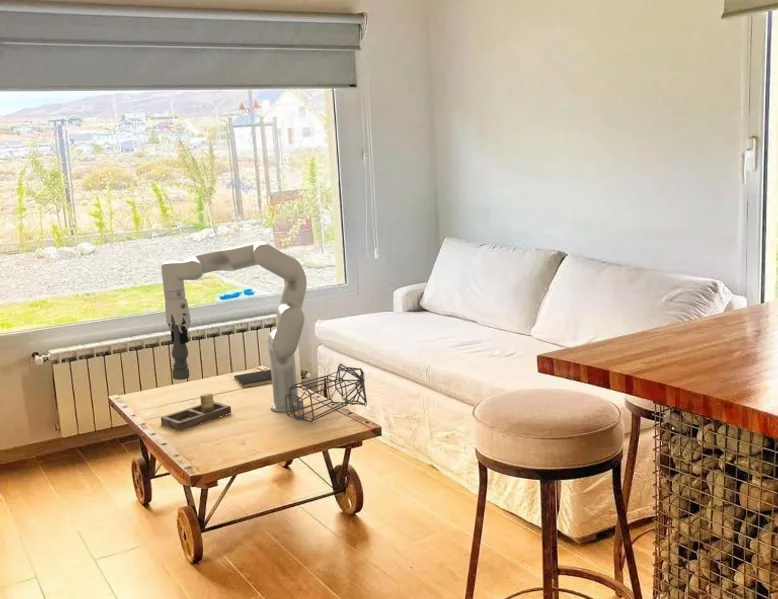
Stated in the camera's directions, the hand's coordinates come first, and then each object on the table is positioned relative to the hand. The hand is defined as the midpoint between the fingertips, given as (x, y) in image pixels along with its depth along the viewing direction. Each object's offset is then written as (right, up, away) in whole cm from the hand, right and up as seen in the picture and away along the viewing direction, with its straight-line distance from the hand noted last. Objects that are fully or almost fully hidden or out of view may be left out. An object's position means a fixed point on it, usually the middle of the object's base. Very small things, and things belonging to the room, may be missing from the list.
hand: (180, 341), depth 324 cm
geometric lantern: (+42, -24, -5) cm, 48 cm away
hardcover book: (+23, -20, +57) cm, 65 cm away
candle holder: (-1, -14, +4) cm, 14 cm away
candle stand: (+4, -30, +8) cm, 32 cm away
